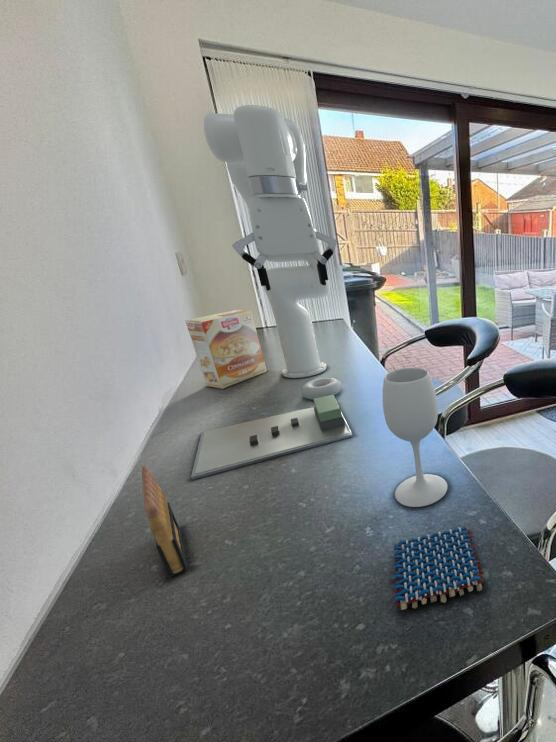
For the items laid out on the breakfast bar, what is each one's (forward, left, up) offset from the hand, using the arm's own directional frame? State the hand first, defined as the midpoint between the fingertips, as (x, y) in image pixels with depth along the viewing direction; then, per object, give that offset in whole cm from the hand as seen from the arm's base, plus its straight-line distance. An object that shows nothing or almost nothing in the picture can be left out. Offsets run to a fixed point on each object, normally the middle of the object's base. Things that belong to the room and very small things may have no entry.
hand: (296, 287), depth 77 cm
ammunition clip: (+27, -24, -31) cm, 48 cm away
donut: (-22, +2, -31) cm, 38 cm away
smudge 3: (-1, -14, -30) cm, 33 cm away
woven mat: (+50, +6, -31) cm, 59 cm away
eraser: (-3, +1, -30) cm, 31 cm away
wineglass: (+33, +10, -31) cm, 47 cm away
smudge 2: (-3, -10, -30) cm, 32 cm away
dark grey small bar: (-5, -6, -30) cm, 31 cm away
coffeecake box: (-50, -18, -31) cm, 62 cm away
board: (-3, -10, -31) cm, 33 cm away
